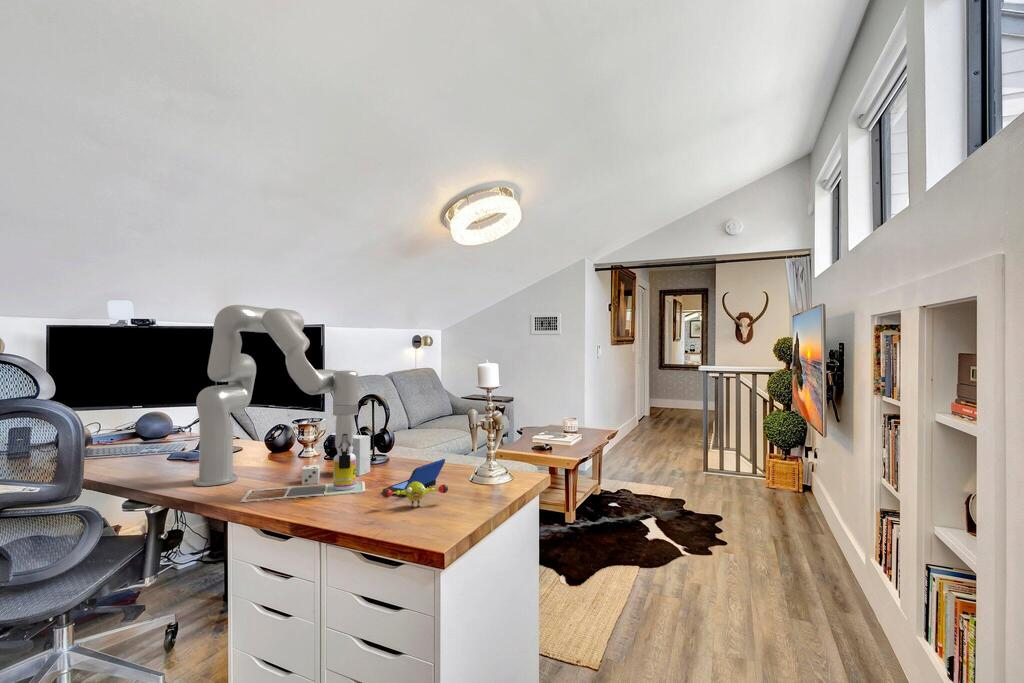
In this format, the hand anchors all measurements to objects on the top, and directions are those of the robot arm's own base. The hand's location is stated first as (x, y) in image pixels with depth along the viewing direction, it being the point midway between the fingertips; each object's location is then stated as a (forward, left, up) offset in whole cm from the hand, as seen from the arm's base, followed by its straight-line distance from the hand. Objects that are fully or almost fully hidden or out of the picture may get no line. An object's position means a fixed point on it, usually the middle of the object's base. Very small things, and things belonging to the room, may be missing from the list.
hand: (344, 464), depth 153 cm
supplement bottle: (0, 0, -7) cm, 7 cm away
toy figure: (+25, +19, -8) cm, 32 cm away
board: (0, -11, -8) cm, 13 cm away
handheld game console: (+7, +21, -8) cm, 23 cm away
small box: (-20, +3, -8) cm, 22 cm away
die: (-12, -11, -8) cm, 18 cm away
